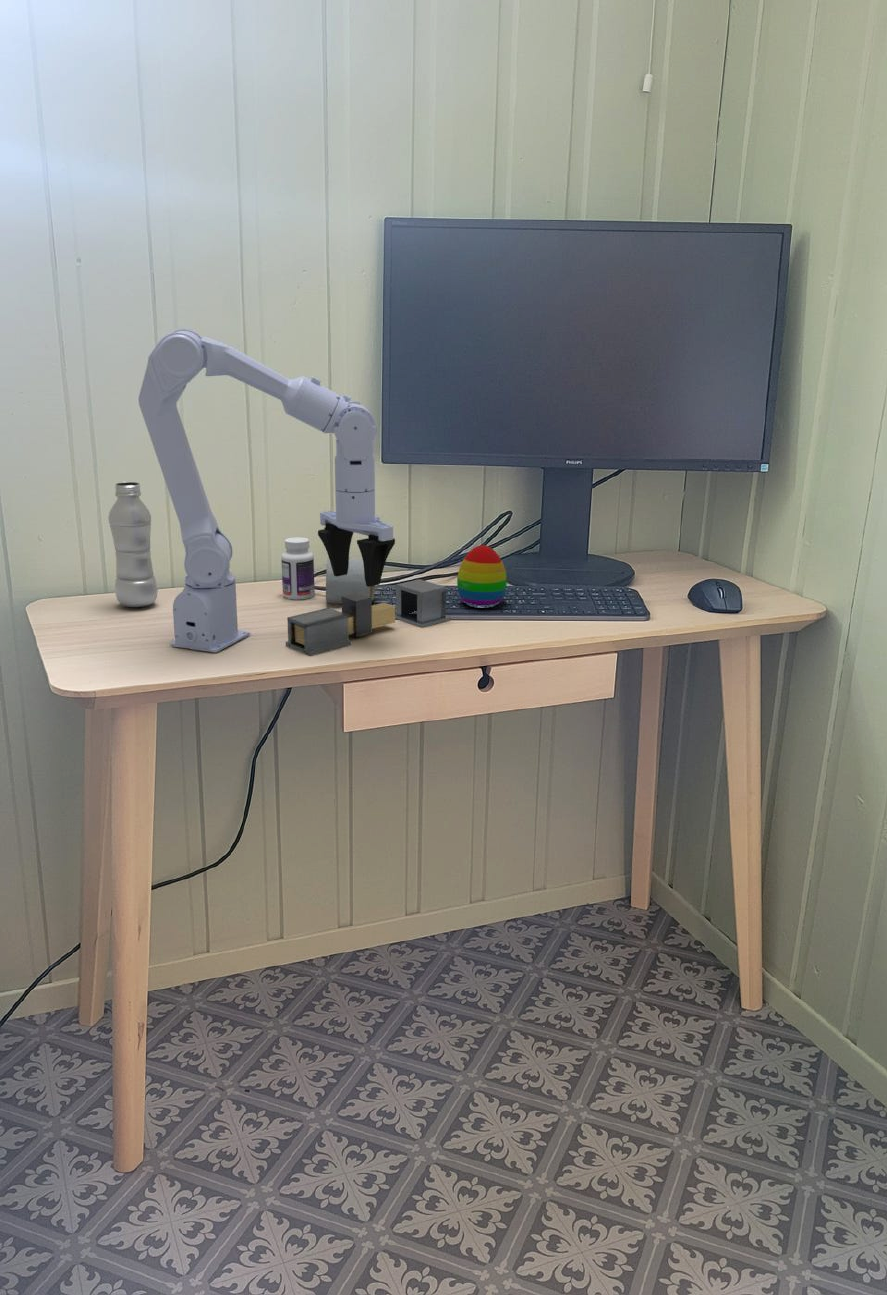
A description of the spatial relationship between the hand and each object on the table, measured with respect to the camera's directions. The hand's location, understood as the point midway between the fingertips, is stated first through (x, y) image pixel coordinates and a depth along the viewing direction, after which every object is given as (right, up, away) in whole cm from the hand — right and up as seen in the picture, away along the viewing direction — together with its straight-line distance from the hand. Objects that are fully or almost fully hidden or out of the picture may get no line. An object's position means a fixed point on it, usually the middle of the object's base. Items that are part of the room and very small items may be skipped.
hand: (356, 580), depth 162 cm
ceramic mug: (-3, -2, +21) cm, 21 cm away
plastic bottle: (-37, -3, +16) cm, 40 cm away
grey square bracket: (+9, -5, +11) cm, 16 cm away
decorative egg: (+19, -3, +20) cm, 28 cm away
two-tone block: (-2, -8, +1) cm, 8 cm away
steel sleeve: (-5, -10, -2) cm, 11 cm away
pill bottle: (-12, -1, +23) cm, 26 cm away
